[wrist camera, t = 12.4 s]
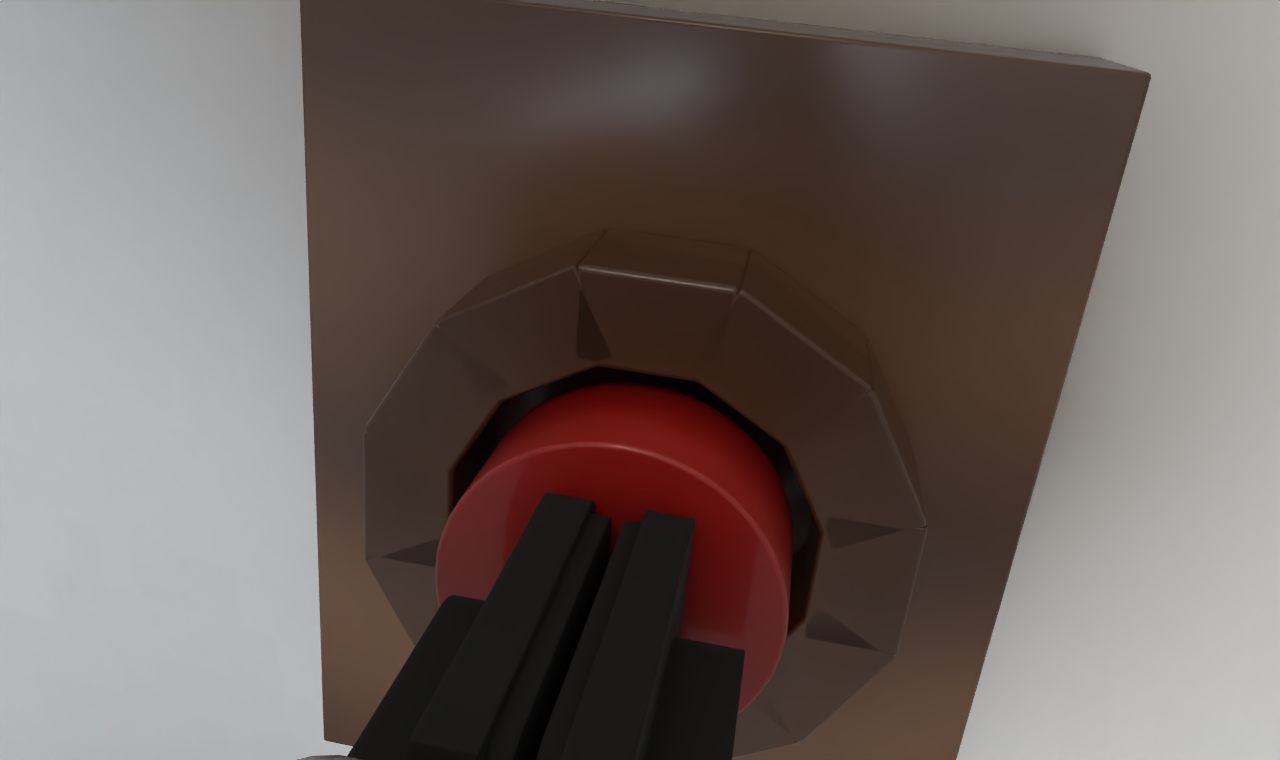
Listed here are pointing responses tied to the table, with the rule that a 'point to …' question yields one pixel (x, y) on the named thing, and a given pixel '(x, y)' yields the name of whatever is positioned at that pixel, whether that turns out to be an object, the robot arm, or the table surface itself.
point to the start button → (642, 507)
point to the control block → (704, 308)
